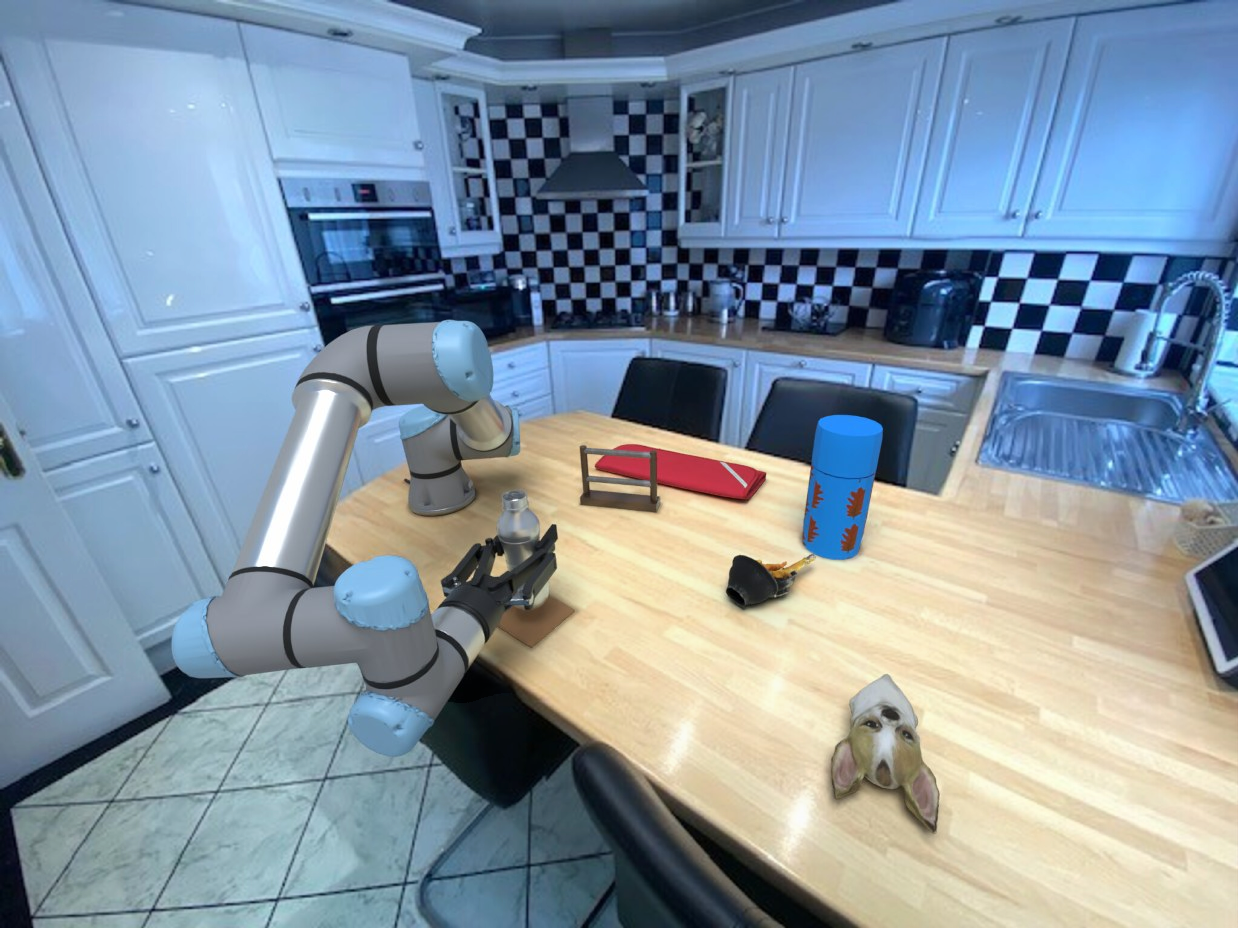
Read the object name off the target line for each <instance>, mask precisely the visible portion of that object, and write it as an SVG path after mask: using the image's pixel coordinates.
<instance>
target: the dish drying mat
mask: <svg viewBox="0 0 1238 928" xmlns="http://www.w3.org/2000/svg"><path fill="white" fill-rule="evenodd" d="M612 450H626V451H639V452H650V451H651V450H655V451H657V484H660V485H666V486H670V487H675V488H681V489H685V490H690V491H695V492H700V493H705V494H710V495H715V496H720V497H725V498H730V499H731V498H732V499H740V500H750V499H751V498H752V497H753V496H754V495H755V493H756V492H757V491H758V489H759V488H760V487H761V486H762V485H763V484H764V482H766V479H767V472H766V471H763V470H759V469H756V468H754V467H752V466H749V465H745V464H741V463H735V462H729V461H723V460H718V459H713V458H709V457H704V456H698V455H693V454H688V453H683V452H678V451H673V450H668V449H662V448H657V447H652V446H648V445H644V444H639V443H637V444H636V443H627V444H626V443H625V444H621V445H618V446H616V447H614V448H613V449H612ZM594 468H595V469H596V470H599V471H605V472H609V473H613V474H616V475H621V476H625V477H631V478H634V479H637V480H646V481H650V459H647V458H634V457H620V456H607V455H602V457H600V458H599V459H598V461H596V463H595V464H594Z"/></svg>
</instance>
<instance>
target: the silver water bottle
mask: <svg viewBox="0 0 1238 928" xmlns="http://www.w3.org/2000/svg"><path fill="white" fill-rule="evenodd" d="M529 504H530V503H529V500H528V494H527V492H526V491H524V490H522V489H512V490H508V491H506V492H504V493H503V494H501V508H502V510H503V512H502V513H501V515H500V516H499V518H498V520H497V523H496V528H495V529H496V533H497V534H496V535H498V536H499V540H500V542H501V545H502V548H503V551H504V554H503V556H504V558H505V559H504V560H505V563H506V571H512V570H513V569H514V568H516V567H517V566H518V565H520V564H521V563H522V562H523V561H525V560H526V559H527V558H529V557H530V556H531V555H533V554H534V553H535V552H536V545H537V544H538V543H539V541H540V540H541V522H540V520H539V517H538V516H537V514H536V513H535V512H534V511H532V510H531V509H530V508H529ZM524 584H525V583H524ZM524 584H523V585H522V586H521V587H524ZM519 591H520V587H519V588H518V591H517V593H518V592H519ZM517 593H516V594H517ZM516 594H515V595H516ZM548 596H550V584H549V581H548V582H547V583H546V584H545V586H544V587H543V588H542V590H541V591H540V592H539V594H538V595H537V596H536V598H535V600H534V605H533V608H532V609H530V610H534V609H537V608H539V607H541V606H542V605H543V604H544V603H545V602H546V600H547V599H548ZM514 606H515V607H516V608H518V609H521V610H525V609H524V605H514Z"/></svg>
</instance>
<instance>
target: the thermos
mask: <svg viewBox="0 0 1238 928" xmlns="http://www.w3.org/2000/svg"><path fill="white" fill-rule="evenodd" d="M883 432H884V428H883V426H882V424H881V423H879V422H877V421H876V420H873V419H871V418H867V417H864V416H863V417H862V416H858V415H850V414H834V415H826V416H824V417H821V418H820V419H819V420H818V421H817V424H816V428H815V433H814V440H813V447H812V456H811V463H810V472H809V477H808V484H807V492H806V500H805V507H804V515H803V523H802V538H801V539H802V544H803V546H804V547H805V549H806V550H807V551H809V552H811V554H814V555H815V556H819V557H821V558H825V559H830V560H839V561H840V560H842V561H843V560H848V559H853V558H854V557H855V556H857V555H858V553H859V551H860V548H861V544H862V541H863V537H864V534H865V529H866V524H867V519H868V514H869V509H870V503H871V498H872V493H873V488H874V484H875V479H876V473H877V468H878V463H879V457H880V453H881V447H882V443H883V436H884V435H883V434H884V433H883Z"/></svg>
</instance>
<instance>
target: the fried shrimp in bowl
mask: <svg viewBox="0 0 1238 928" xmlns="http://www.w3.org/2000/svg"><path fill="white" fill-rule="evenodd" d="M816 556H817V555H816V554H814V553H811V554H809V555H807V556H806V557H803V558H802V559H801V560H799V561H797V562H795V563H793V564H791V565H789V566H787V564H788V561H783V562H782V563H763V560H762V559H755V558H753V557H751V556H747V555H745V554H737V555H735V556H734V557H733V558H732V565H731V566H730V569H729V570H728V580H727V587H726V588H725V594H726V596H727V597H728V599H730V600H731V601H732V602H733V603H734V604H736V605H737V606H738V607H740V608H745V607H746V606H747V605H755V604H760V603H762V602H763V601H765V600H767V599H768V598H770V599H774V598H777V597H781V596H783V595H786V594H788V593H789V591H790V590H789V588H790V587H792V585H793V584H794V583H795V581H796V578H797V576H798V574H799V573H798V572H799V571H800V570H801V569H802V568H803V567H804V566H807V565H809V564H810V563H812V562H815V561H816V558H817V557H816ZM785 566H786V567H785Z"/></svg>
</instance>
